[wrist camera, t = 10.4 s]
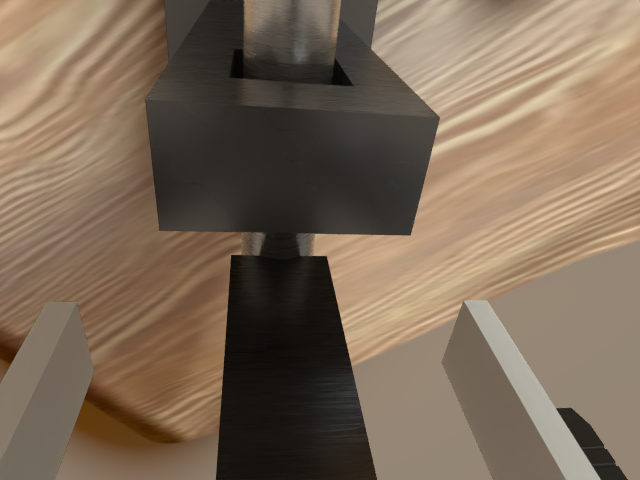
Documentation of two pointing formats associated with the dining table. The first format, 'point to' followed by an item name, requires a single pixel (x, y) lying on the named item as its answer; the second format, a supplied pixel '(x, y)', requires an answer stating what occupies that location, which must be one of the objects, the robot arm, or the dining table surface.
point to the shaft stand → (283, 134)
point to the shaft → (288, 304)
